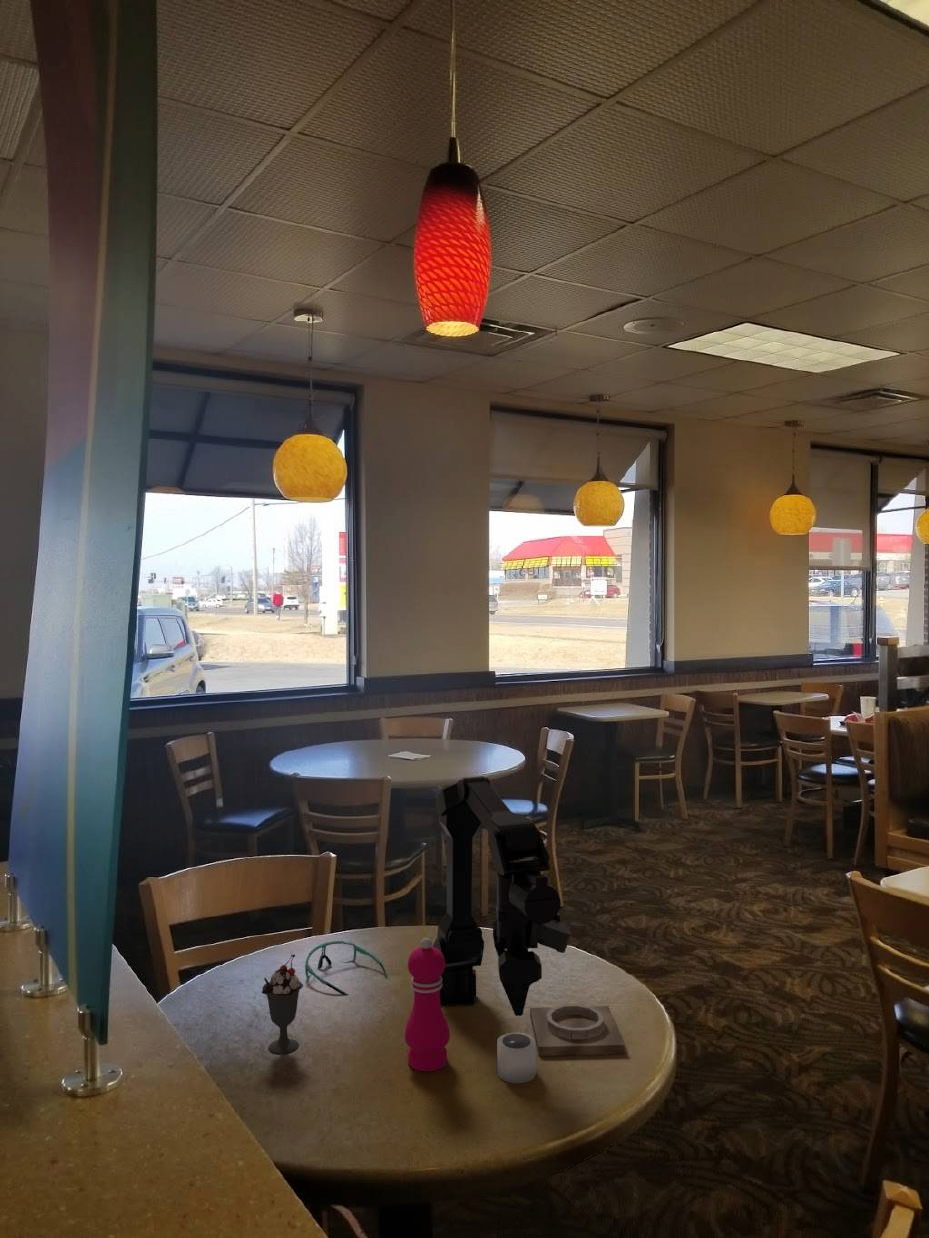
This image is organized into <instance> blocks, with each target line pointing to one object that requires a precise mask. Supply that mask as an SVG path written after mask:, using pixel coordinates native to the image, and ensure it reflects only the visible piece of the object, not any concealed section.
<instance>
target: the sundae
mask: <svg viewBox="0 0 929 1238" xmlns="http://www.w3.org/2000/svg"><path fill="white" fill-rule="evenodd" d="M295 957H296V954H291V955H290V958H289V960H288V961H287V962H286V963H285V964H282V965H281V966H280V968H278V969H277V970H275V971H274V972H273V973H272V974H271V975H270V976H271V977H270V981H268V979H267V978H266V977H264V978H263V980H264V981H265V983H264V985H263V987H262V990H261V993H262V994H263V995H266V998H267V1002H268V1009H269V1015H270V1020H271V1022H272V1023H273V1024H274V1025H275V1026H277V1027H278V1028H279V1036H278V1037H279V1038H278V1039H276V1040H274V1041H272V1042H271V1043H270V1044H269V1045H268V1050H269V1052H271V1053H273V1054H277V1055H285V1054H290V1053H293V1052H294V1051H295V1050H297V1049H298V1048H299V1046H300V1045H299V1044H300V1043H299V1042H298V1041H297V1040H296V1039H292V1038H289V1035H288V1026H289V1025H291V1024H292V1023H293V1021H294V1020H295V1019H296V1015H297V1011H298V1003H299V1002H298V1001H299V993H300V990H302V989H303V987H304V984H303V983H302V982H301V980H300V978H299V977H298V976H297V975H296V974H295V973H296V969H295V968H293V959H294V958H295ZM289 962H290V967H289V968H288V967H287V965H288V964H289Z"/></svg>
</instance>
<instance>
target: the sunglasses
mask: <svg viewBox="0 0 929 1238" xmlns="http://www.w3.org/2000/svg"><path fill="white" fill-rule="evenodd" d="M342 944H343V945H349V946H352V947H353V957H352V958H353V959H352V960H348V961H344V962H343V964H344V963H345V964H346V963H355V962H356V957H357V952H358V953H360V954H361V955H365V956H369V957H370V958H371V959H372V960H373V961H374V962H375V963H376V964H378V965H379V966H380V967H381V969H382V971H383V973H384V977H385V978H386V980H388V979H389V976H388V973H387V970H386V968H385V966H384V964H383V963H382V961H381V960H380V959H378V958H377V957H376V956H375V955H374V954H372V953H371V952H369V951H367V950H366V949H364V948H362V947H360V946H358V945H356V944H354V943H353V942H348V941H344V940H334V941H327V942H323V943H322V944H319V945H317V946H315V947H314V948H313V949H311V951H310V952H309V953H308V955H307V957H306V959H305V964H304V965H305V967H304V969H305V977H306V979H307V980H310V978H311V977H314V978H315V979H317V980H318V981H319V982H320V983H321V984H322V985H325V986H328V988H330V989H332V990H334V991H336V992H337V993H339V994H341V995H342V996H343V995H345V996H349V993H347V992H345V991H344V990H343V989H340V988H338V987H336V986H335V985H334V984H332V983H331V982H329V981H327V980H325V979H323V978H322V977H320V976H319V975H318V974H316V972H315V971H314V970H313V969H312V967H311V966H310V964H309V960H310V958H311V956H312V955H313V954H314V953H315V952H316V951H317V950H319V949H321V955H320V956H319V960H318V964H317V970H318V971H319V970H320V969H322V968H323V963H324V959H325V961H326V962H327V964H328V966H333V964H332V960H331V959H330V957H328V955H326V950H327V948H326V947H327V946H330V945H342ZM309 974H310V975H309Z"/></svg>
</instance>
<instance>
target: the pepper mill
mask: <svg viewBox="0 0 929 1238" xmlns="http://www.w3.org/2000/svg"><path fill="white" fill-rule="evenodd" d="M432 946H433V942H432V940H431V938H428V937H424V938H423V939H421V942H420V946H419V947H417V948H415V949H413V951H412V952H411V953H410V955H409V957H408V959H407V969H408V972H409V974H410V975H411V976H412V977H411V979H410V982H411V985H410V987H411V989H412V990H413V994H414V995H413V996H414V997H413V1005H412V1009H411V1012H410V1014H409V1017H408V1019H407V1021H406V1025H405V1029H404V1042H405V1043H406V1044H407V1046H408V1048H409V1049H408V1051H407V1063H408V1065H409V1066H410V1067H411V1069H414V1070H416V1071H419V1072H434V1071H437V1070H440V1069H442V1068H443V1067H445V1066H446V1064H447V1062H448V1050H447V1048H446V1046H447V1045H448V1043H449V1041H450V1036H451V1034H450V1033H451V1032H450V1027H449V1022H448V1020H447V1018H446V1015H445V1014H444V1012H443V1009H442V1005H440V997H439V994H440V989H441V988H442V977H441V974H442V973H443V972H444V969H445V958H444V956H443V954H442V952H441V951H440V950H439V949H437V948H435V947H432Z"/></svg>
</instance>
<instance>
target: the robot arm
mask: <svg viewBox="0 0 929 1238" xmlns="http://www.w3.org/2000/svg"><path fill="white" fill-rule="evenodd" d="M435 811H436V814H437V816H438V817H437V818H438V819H437V820H438V823H439V824H440V826H441V827H442V829H443V831H444V832H445V834H446V912H445V914H444V916H443V917H442V919H441V920H440V922H439V924H438V925H437V934H436V935H437V936H436V937H437V938H436V939H435V940H434V942H433V943H432V947H435V948H437V949H439V950H440V951H441V952H442V954H443V956H444V958H445V969H444V972H443V973H442V974H441V977H442V988H441V989H440V994H439V997H440V1005H441V1006H447V1005H449V1006H452V1005H453V1006H456V1005H463V1006H464V1005H474V1004H475V998H476V997H477V971H476V969H474V967H481V966H482V962H483V957H484V950H485V940H484V939H483V931H482V928H481V927H480V926H479V925H478V923H477V921H476V919H475V918H474V916H473V883H474V882H473V881H474V880H473V878H474V877H473V873H474V871H473V870H474V868H473V863H474V862H473V861H474V859H473V858H474V857H473V856H474V854H473V853H474V852H473V851H474V849H473V847H474V843H473V842H474V837H475V835H476V833H477V832H478V831H479V829H480V827H481V826H483V827H484V828H485V829H486V831H487V833H488V839H487V842H488V843H487V846H488V849H489V851H490V855H491V857H492V859H493V860H492V861H493V862H494V863H493V866H494V867H495V868H496V904H495V909H496V910H495V912H496V920H494V922H493V923H492V938H493V944H494V945H493V946H494V948H495V952H496V954H497V956H498V958H497V968H498V969H497V970H498V978H499V981H500V983H501V985H502V987H503V989H504V992H505V994H506V996H507V999H508V1001H509V1004H510V1006H511V1008H512V1011H513V1015H514V1016H516V1017H522V1016H523V1015H524V1014H523V1013H524V1010H525V1007H526V1001H527V997H528V993H529V989H530V988H531V987H530V986H532V985H533V984H534V983H538V982H539V980H540V981H541V980H542V978H543V975H542V974H543V973H542V969H543V967H542V963H541V959H540V957H539V955H538V954H537V953H535V951H532V950H529V949H538V948H539V947H538V945H541V946H544V947H546V948H550V949H553V950H554V951H555V950H556V952H558V953H561V954H563V953H564V954H566V953H565V952H566V949H567V947H568V944H569V942H570V938H571V935H572V931H571V930H570V926H569V925H568V924H566V922H565V921H561V915H560V912H559V911H560V908H561V898H560V895H559V892H558V891H557V890H556V889H555V888H554V887H552V885H550V884H549V879H548V878H549V877H548V876H547V875H546V874H542V873H541V872H546V871H547V872H548V871H550V870H551V869H550V868H551V867H550V863H549V861H550V856H549V853H548V849H547V847H546V845H545V842H544V839H543V836H542V834H541V832H540V829H539V828H538V826H536V824H535V823H534V821H532V820H531V819H530V818H528V817H527V816H525V815H522V814H518V813H515V812H513V811H511V809H510V807H508V806H507V804H506V803H505V802H504V801H503V800H502V798H501V797H500V796H499V795H498V794H497V791H495V790H494V789H493V788H492V786H491V782H490V780H489V778H488V777H484V776H483V775H482V776H470V777H463V778H462V779H459V780H458V781H457V783H455V784H452V785H450V786H448V787H446V788H444V789H442V790H441V792H439V794H438V795H437V796H436V798H435ZM535 857H536V859H534V858H535ZM528 859H531V860H528Z"/></svg>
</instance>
